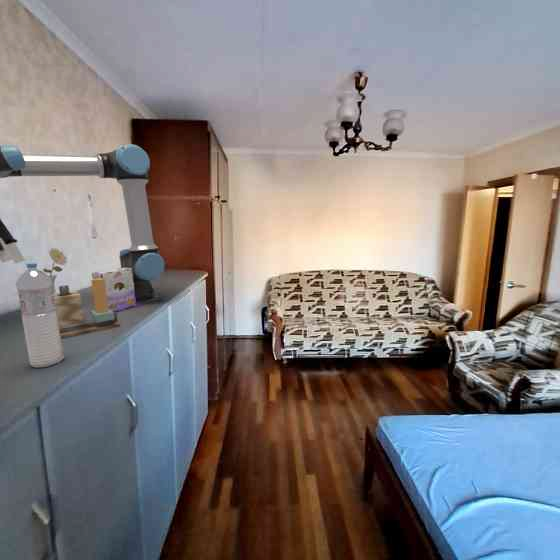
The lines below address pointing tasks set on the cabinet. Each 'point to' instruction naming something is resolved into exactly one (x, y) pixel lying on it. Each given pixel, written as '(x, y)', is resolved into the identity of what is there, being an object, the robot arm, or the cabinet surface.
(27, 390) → the cabinet surface
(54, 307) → the water bottle
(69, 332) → the rail board
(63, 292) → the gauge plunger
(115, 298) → the candy box
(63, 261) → the flower in vase
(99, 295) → the block
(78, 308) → the tan hollow wooden box
